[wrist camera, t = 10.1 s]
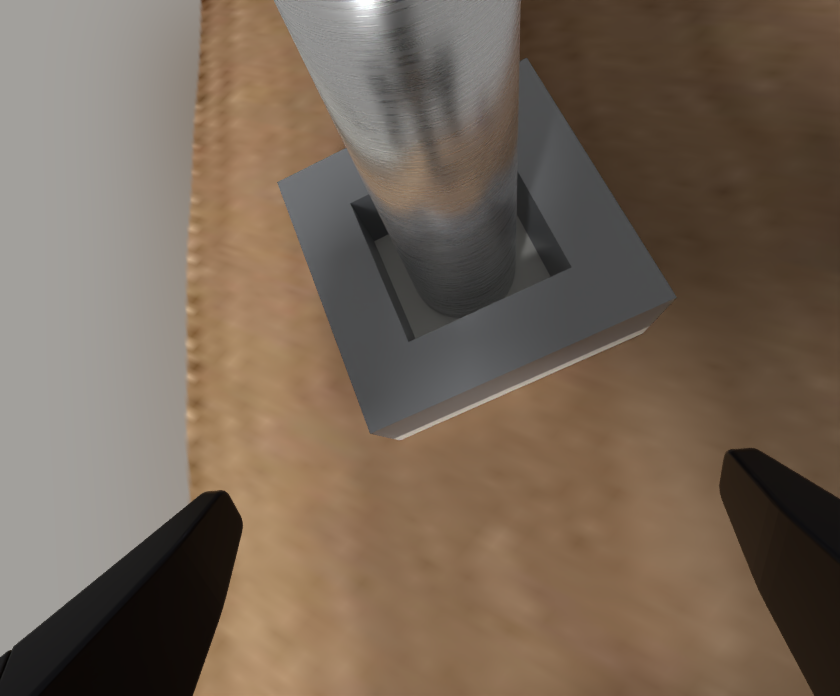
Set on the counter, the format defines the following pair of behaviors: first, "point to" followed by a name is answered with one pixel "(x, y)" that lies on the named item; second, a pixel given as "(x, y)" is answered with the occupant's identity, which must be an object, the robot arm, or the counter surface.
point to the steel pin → (427, 130)
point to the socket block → (496, 323)
